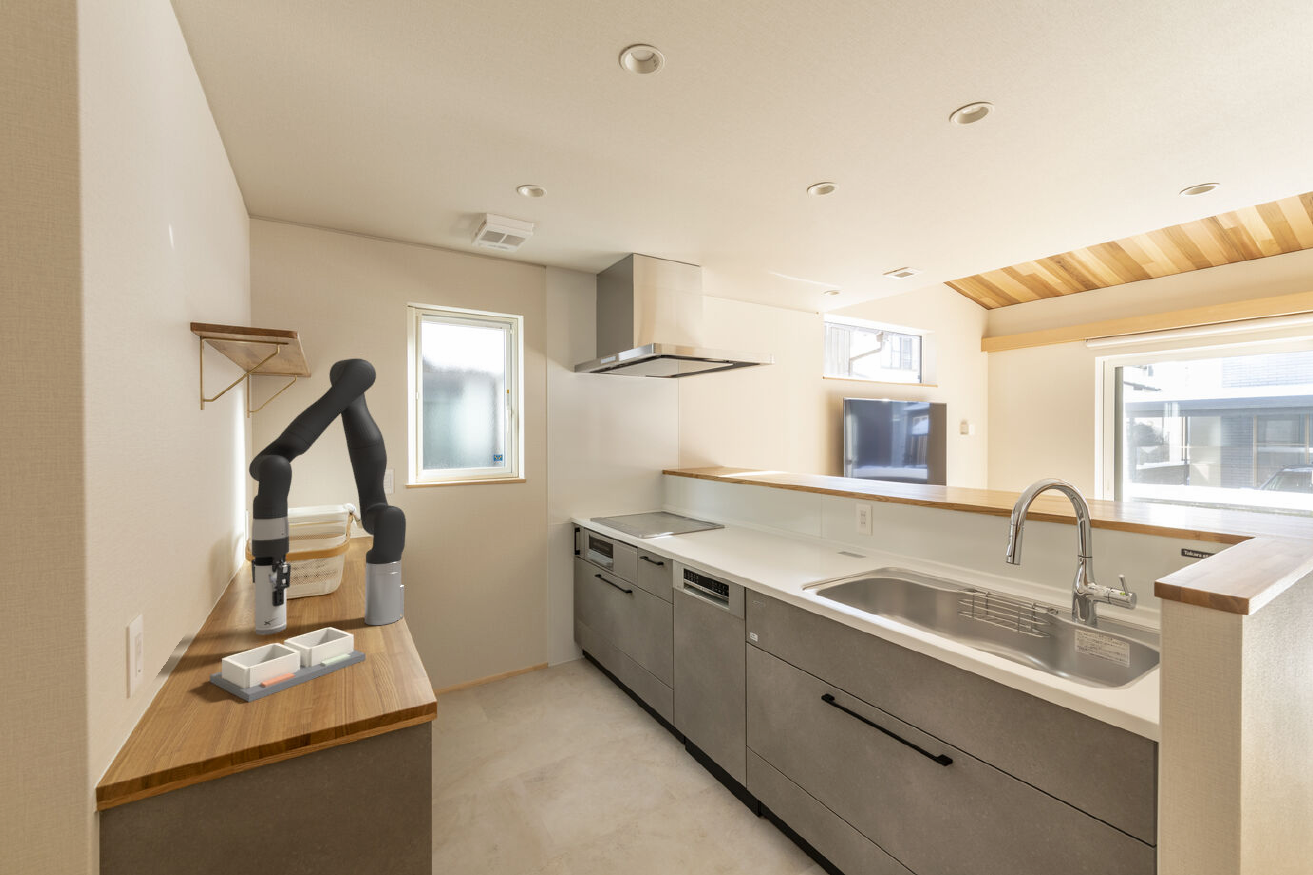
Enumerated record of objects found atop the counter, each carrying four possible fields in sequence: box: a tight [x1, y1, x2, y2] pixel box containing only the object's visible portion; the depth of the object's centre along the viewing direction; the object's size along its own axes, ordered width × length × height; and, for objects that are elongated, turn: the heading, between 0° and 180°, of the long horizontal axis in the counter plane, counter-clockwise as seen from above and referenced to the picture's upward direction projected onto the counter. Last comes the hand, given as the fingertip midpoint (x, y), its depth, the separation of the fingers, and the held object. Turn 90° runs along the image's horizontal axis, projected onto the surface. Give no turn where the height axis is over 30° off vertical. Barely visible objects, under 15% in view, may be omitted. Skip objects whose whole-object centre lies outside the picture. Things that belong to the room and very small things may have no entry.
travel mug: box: [254, 554, 288, 636], centre depth 133 cm, size 6×7×20 cm
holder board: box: [209, 626, 366, 703], centre depth 122 cm, size 24×17×6 cm
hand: (270, 603), depth 133 cm, fingers closed on travel mug, 6 cm apart
